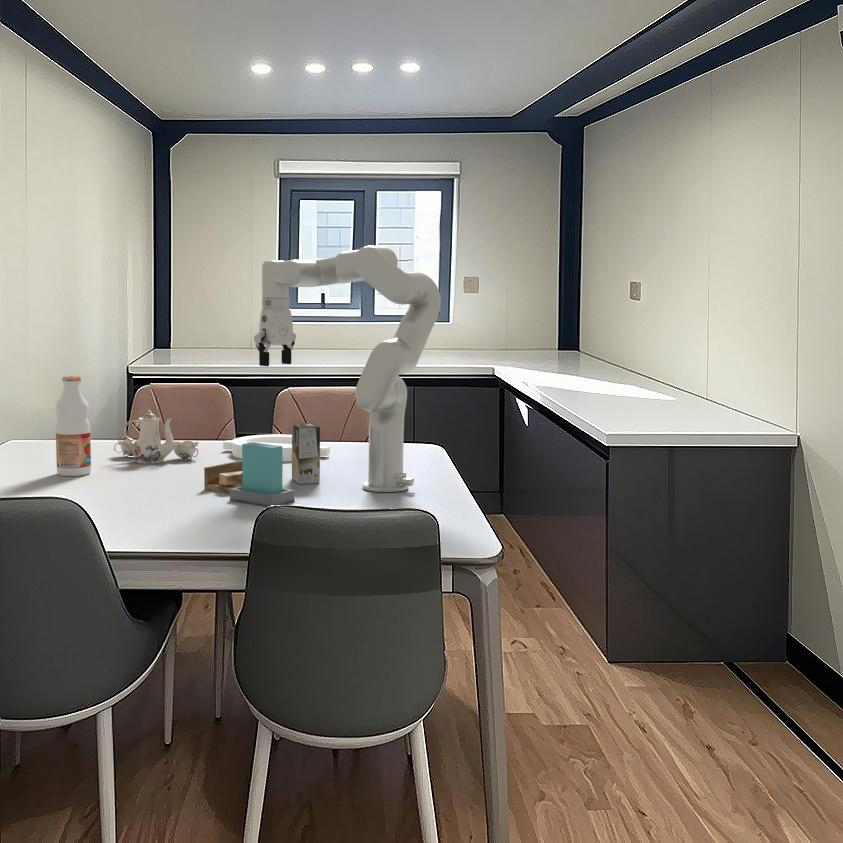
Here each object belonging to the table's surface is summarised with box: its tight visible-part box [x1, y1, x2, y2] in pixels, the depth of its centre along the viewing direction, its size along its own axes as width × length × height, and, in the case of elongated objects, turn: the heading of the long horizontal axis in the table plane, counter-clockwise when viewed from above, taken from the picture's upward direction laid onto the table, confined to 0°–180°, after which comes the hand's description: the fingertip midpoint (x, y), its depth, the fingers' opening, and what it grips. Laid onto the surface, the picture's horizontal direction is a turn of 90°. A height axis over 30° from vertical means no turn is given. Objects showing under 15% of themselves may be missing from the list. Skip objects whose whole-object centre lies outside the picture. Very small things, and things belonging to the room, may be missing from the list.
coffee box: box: [291, 422, 321, 485], centre depth 300 cm, size 9×6×16 cm
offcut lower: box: [219, 483, 241, 488], centre depth 286 cm, size 7×4×2 cm, turn 74°
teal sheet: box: [241, 442, 283, 495], centre depth 272 cm, size 10×4×14 cm, turn 58°
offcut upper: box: [219, 471, 242, 485], centre depth 285 cm, size 7×4×2 cm, turn 128°
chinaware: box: [113, 409, 200, 465], centre depth 330 cm, size 28×17×17 cm, turn 86°
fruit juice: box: [55, 375, 92, 477], centre depth 303 cm, size 9×9×28 cm
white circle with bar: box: [222, 434, 331, 463], centre depth 344 cm, size 28×28×5 cm
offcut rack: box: [203, 459, 242, 495], centre depth 288 cm, size 14×15×6 cm
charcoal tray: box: [229, 486, 296, 508], centre depth 273 cm, size 14×9×3 cm, turn 58°
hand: (275, 364), depth 302 cm, fingers open, 9 cm apart
